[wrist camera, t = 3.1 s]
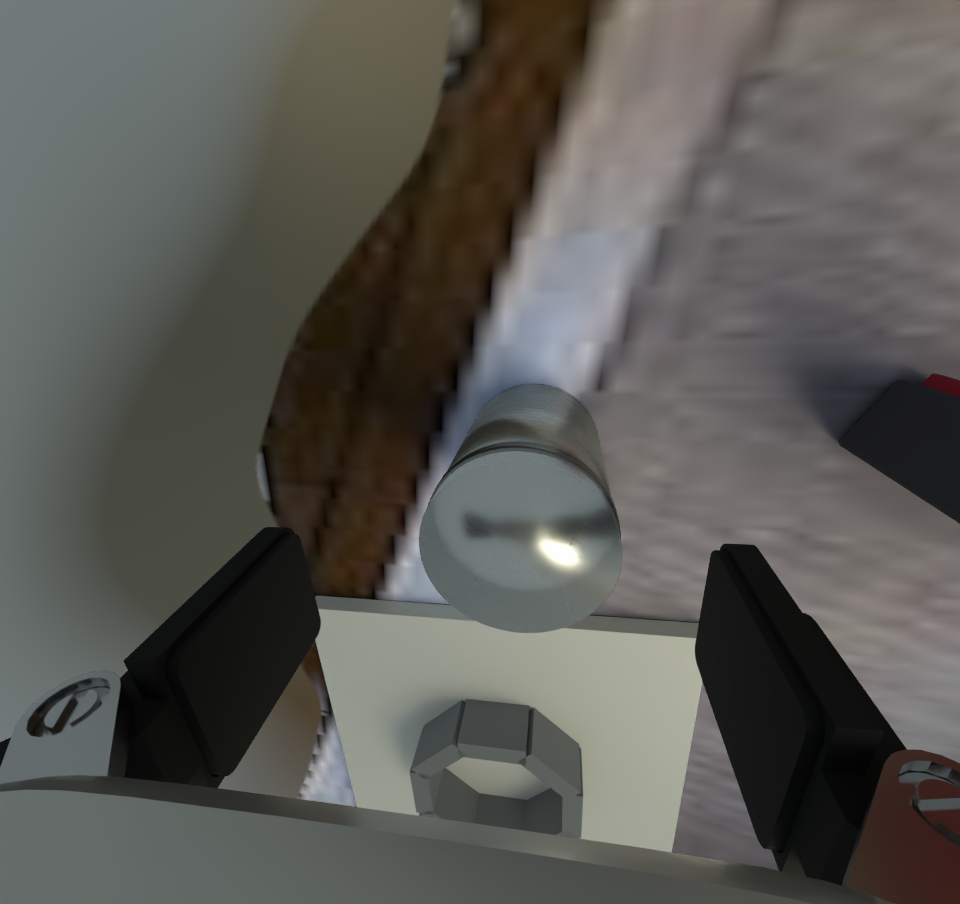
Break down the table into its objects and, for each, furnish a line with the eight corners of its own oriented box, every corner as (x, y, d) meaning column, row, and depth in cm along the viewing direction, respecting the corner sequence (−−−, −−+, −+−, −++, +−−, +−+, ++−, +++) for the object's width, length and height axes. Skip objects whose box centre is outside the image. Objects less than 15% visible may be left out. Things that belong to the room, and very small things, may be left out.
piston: (603, 381, 18) (632, 461, 11) (597, 505, 20) (617, 642, 13) (465, 383, 19) (406, 458, 12) (473, 501, 21) (427, 626, 14)
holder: (703, 623, 22) (728, 686, 18) (662, 866, 29) (674, 940, 26) (316, 595, 25) (280, 643, 22) (369, 819, 32) (348, 879, 29)
